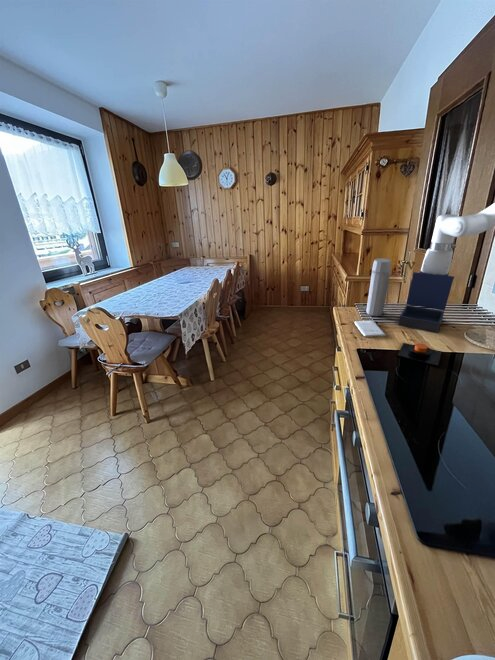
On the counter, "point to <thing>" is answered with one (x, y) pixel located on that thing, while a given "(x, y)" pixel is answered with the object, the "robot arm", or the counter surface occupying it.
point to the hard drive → (369, 328)
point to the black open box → (421, 318)
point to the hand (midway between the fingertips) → (430, 288)
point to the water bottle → (378, 287)
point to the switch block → (420, 355)
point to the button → (421, 348)
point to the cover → (429, 290)
